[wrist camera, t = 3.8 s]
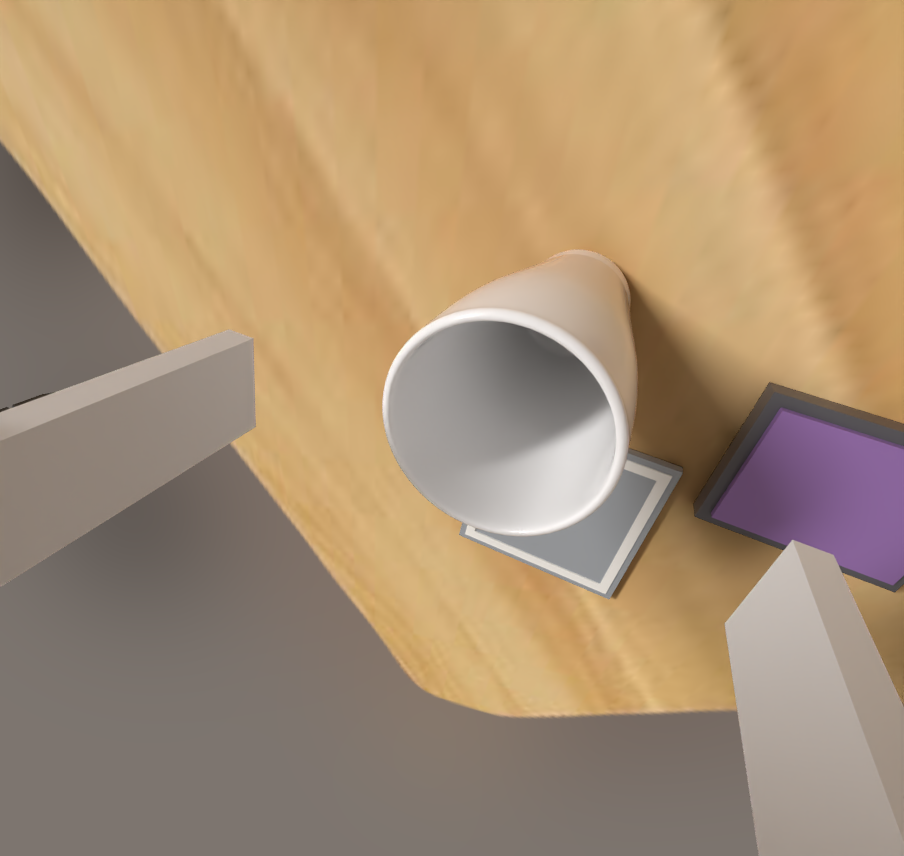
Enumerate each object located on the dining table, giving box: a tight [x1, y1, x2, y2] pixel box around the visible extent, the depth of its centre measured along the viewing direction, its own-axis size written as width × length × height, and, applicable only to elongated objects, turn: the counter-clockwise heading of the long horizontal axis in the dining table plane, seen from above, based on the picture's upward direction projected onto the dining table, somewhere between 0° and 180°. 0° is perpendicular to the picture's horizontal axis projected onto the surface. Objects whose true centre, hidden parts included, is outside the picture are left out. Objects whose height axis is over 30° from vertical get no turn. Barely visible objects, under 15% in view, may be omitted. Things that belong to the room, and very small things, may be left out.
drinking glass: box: [382, 249, 638, 536], centre depth 18 cm, size 7×7×15 cm
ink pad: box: [693, 382, 904, 592], centre depth 23 cm, size 10×8×2 cm
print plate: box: [459, 448, 683, 599], centre depth 30 cm, size 11×11×1 cm
